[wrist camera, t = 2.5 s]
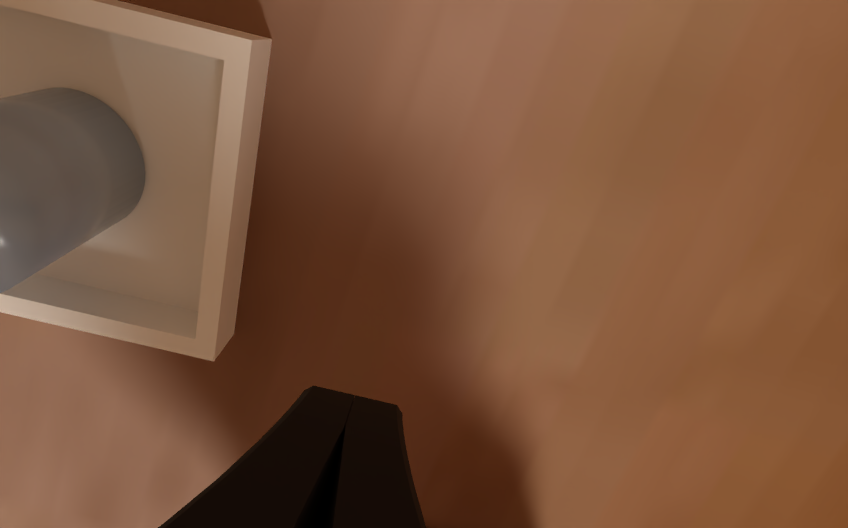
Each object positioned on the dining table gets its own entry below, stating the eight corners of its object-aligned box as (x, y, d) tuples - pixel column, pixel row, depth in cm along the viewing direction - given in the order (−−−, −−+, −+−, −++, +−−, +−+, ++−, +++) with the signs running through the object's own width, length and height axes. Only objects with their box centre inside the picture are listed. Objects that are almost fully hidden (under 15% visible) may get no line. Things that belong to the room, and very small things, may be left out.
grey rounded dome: (152, 113, 16) (39, 152, 12) (138, 244, 18) (34, 318, 14) (6, 67, 16) (-160, 92, 12) (6, 203, 18) (-141, 267, 14)
